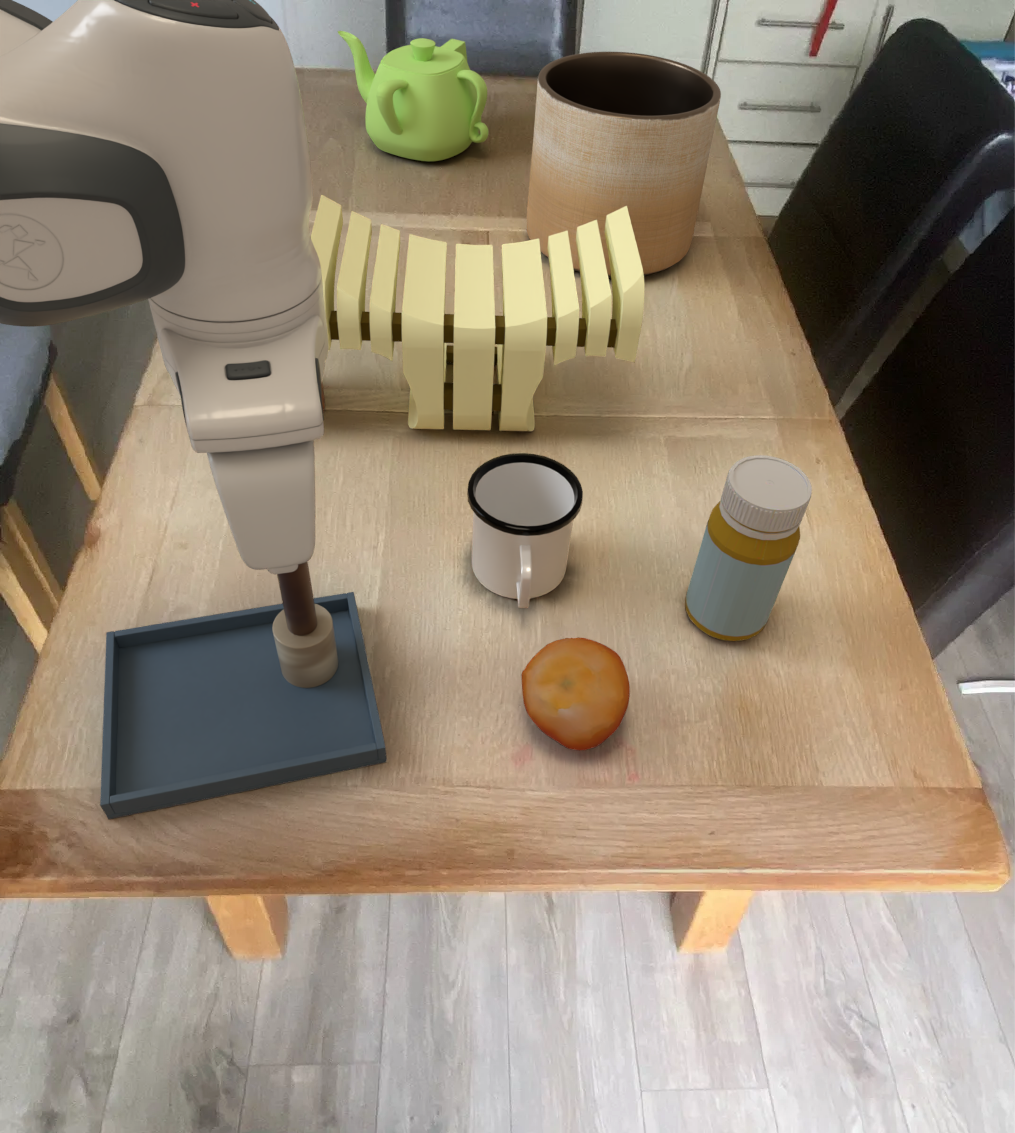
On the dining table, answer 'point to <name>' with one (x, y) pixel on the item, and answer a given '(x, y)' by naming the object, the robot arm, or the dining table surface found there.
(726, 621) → the bottle
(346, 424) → the dining table surface
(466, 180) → the dining table surface
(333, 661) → the bottle brush
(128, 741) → the tray
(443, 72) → the teapot
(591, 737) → the fruit
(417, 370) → the slatted curved stool
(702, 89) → the planter
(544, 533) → the mug
